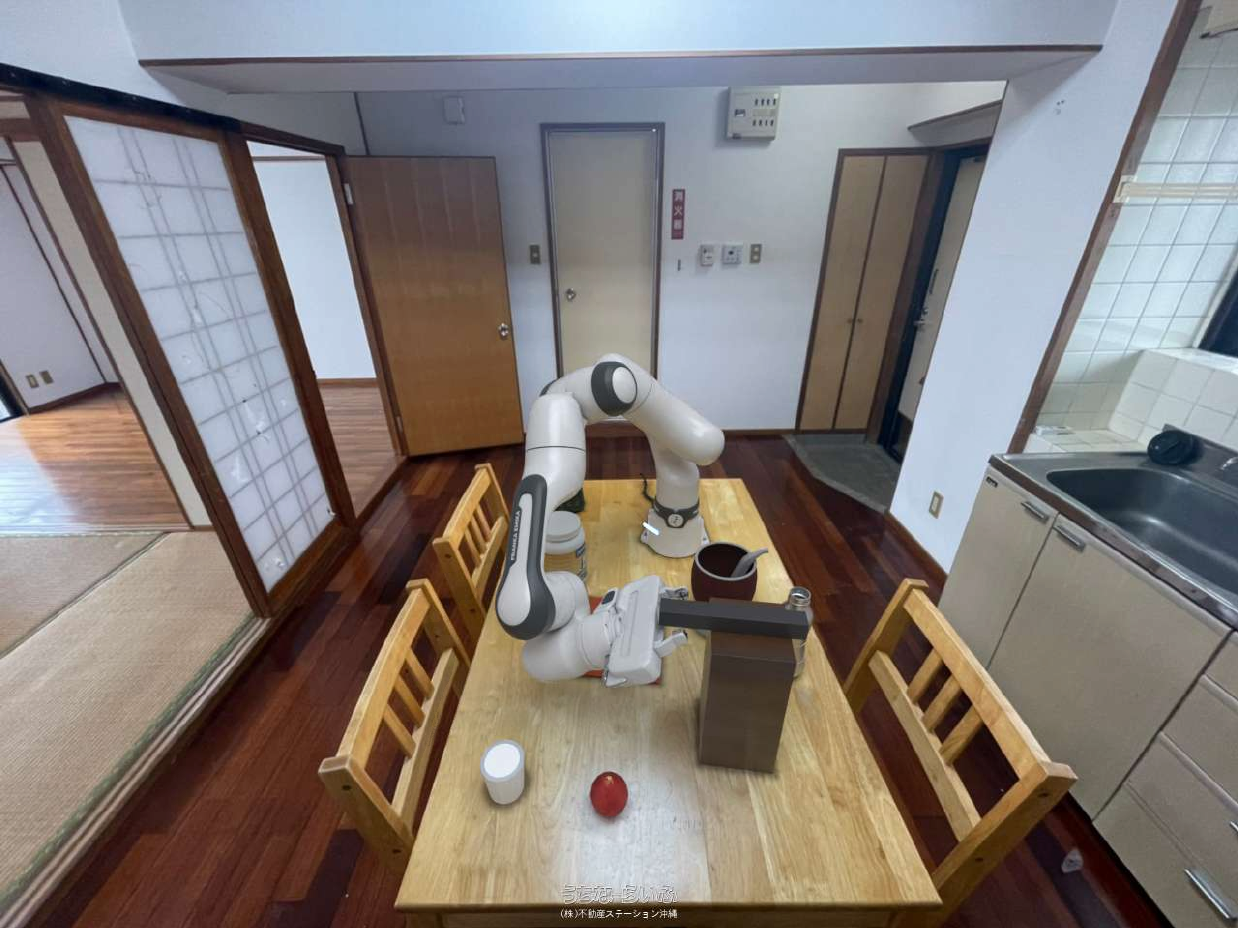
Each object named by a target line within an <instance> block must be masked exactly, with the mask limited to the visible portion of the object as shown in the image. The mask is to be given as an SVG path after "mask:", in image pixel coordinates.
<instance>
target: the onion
mask: <svg viewBox="0 0 1238 928" xmlns="http://www.w3.org/2000/svg"><path fill="white" fill-rule="evenodd" d="M628 797H629V791H628V786H627V782H625V780H624V779H623V777H622V776H621V775H620V774H619V773H617V772H614V771H604V772H602V773H600V774H598V775H597V776H596V777H595V779H594V780H593V781H592V783H591V785H590V791H589V799H590V804H591V806H592V808H593V810H594V811H595V813H597V814H598V815H599V816H601V817H606V818H614V817H616V816H618V815H619V814H620V813H622V812H623V811H624V809H625V808H626V806H627V802H628Z"/></svg>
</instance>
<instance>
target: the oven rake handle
mask: <svg viewBox="0 0 1238 928" xmlns="http://www.w3.org/2000/svg"><path fill="white" fill-rule="evenodd" d="M659 626H664V627H670V628H678V629H680V628H682V629H690V630H691V629H692V630H696V629H699V630H709V631H719V632H729V633H739V634H749V635H760V636H770V637H780V638H790V639H800V640H806V641H807V639H806V636H807V632H808V627H809V624H808V620H807V616H806V612H805V611H798V610H787V609H777V608H766V607H755V606H744V605H733V604H722V603H712V602H701V601H695V600H689V599H687V600H679V599H678V598H671V599H668V598H660V608H659ZM807 637H808V636H807Z"/></svg>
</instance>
